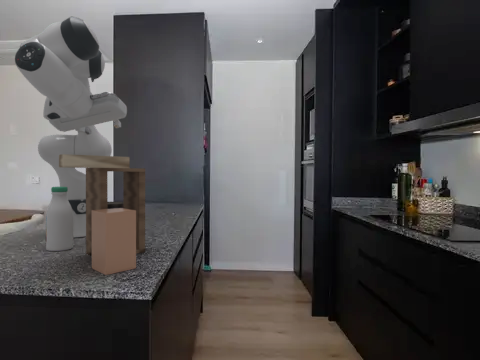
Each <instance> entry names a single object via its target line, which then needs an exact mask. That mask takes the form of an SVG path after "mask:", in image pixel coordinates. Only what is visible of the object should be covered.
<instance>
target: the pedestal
mask: <svg viewBox="0 0 480 360" xmlns="http://www.w3.org/2000/svg"><path fill="white" fill-rule="evenodd" d="M136 268H137V254H136V210H130V209H124V208H115V209H102V210H92V257H91V269H93V270H94V271H96V272H98V273H100V274H103V275H105V276H107V275H112V274H118V273H121V272H125V271H129V270H134V269H136Z"/></svg>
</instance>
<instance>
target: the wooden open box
mask: <svg viewBox="0 0 480 360" xmlns="http://www.w3.org/2000/svg"><path fill="white" fill-rule="evenodd" d="M108 172H123V173H122V174H123V175H122V176H123V180H122V181H123V184H122V186H123V188H122V189H123V193H122V195H123V198H122V200H123V201H122V202H123V208H124V209H130V210H136V255H138V254H141V253H142V254H143V253H146V168H141V167H140V168H136V167H133V168H131V167H130V168H85V174H86V236H85V255H87V256H89V257H91V258H92V210H102V209H108V202H109V200H108V198H109V197H108Z"/></svg>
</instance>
